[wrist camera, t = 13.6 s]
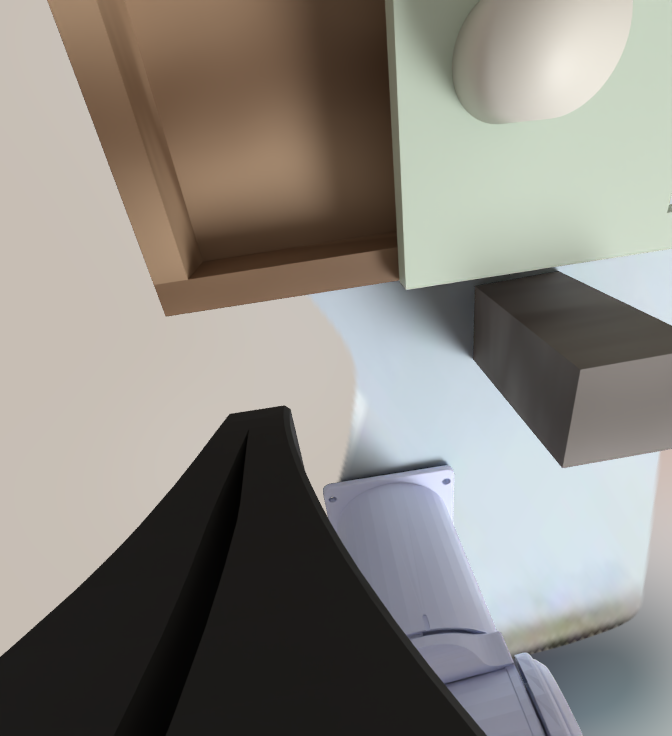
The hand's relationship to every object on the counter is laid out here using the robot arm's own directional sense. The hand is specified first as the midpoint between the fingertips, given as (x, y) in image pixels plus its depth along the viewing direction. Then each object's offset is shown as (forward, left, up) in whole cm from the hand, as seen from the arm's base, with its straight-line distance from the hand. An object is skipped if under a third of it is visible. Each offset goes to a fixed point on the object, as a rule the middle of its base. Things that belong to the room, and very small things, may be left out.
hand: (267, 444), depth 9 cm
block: (-3, -11, -10) cm, 15 cm away
